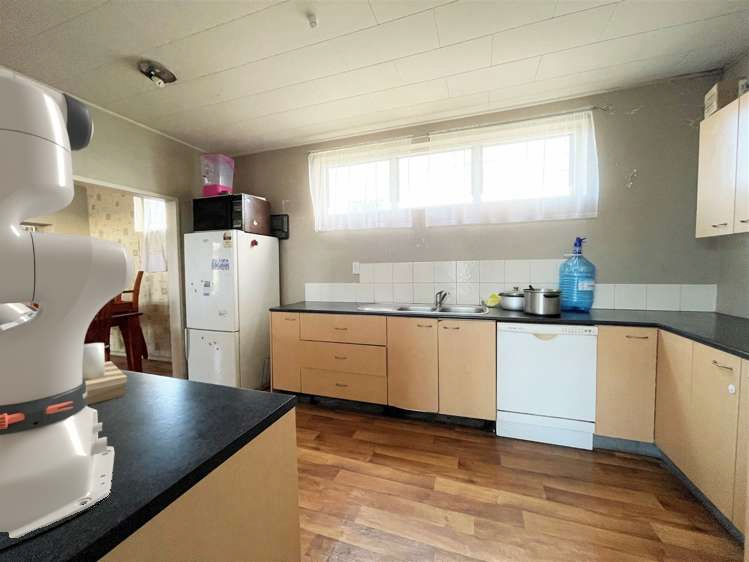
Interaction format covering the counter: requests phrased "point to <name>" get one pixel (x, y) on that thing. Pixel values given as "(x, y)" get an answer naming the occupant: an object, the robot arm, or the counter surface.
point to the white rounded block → (93, 361)
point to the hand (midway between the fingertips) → (61, 355)
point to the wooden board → (106, 385)
